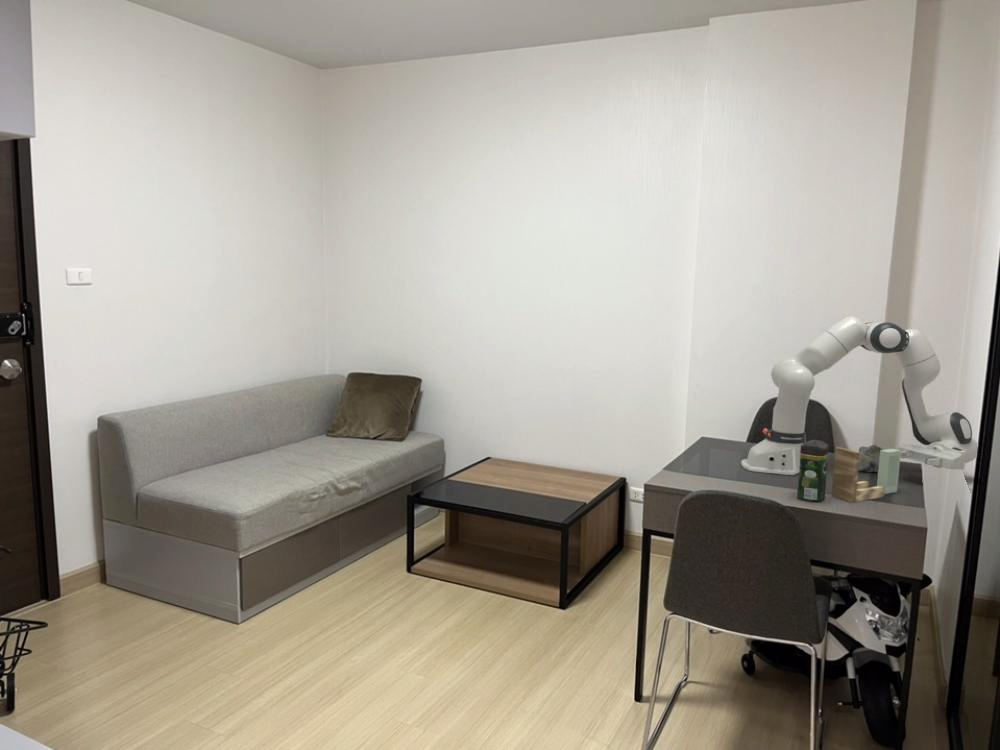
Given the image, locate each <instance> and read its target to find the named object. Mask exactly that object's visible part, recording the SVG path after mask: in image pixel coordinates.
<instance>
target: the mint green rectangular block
mask: <svg viewBox="0 0 1000 750" xmlns="http://www.w3.org/2000/svg"><path fill="white" fill-rule="evenodd" d="M900 455H901V451H900V450H898V449H895V448H888V449H887V448H886V449H883V450H880V458H879V469H878V472H877V480H876V481H877V482H876V486H883V487H885V490H884V495H887V494H891V493H892V494H893V493H897V492H898V483H899V482H898V481H899V476H900V475H899V474H900V465H901V464H900V463H901V458H900Z"/></svg>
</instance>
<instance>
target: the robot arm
mask: <svg viewBox="0 0 1000 750" xmlns="http://www.w3.org/2000/svg"><path fill="white" fill-rule="evenodd" d="M858 347H862V348H863V349H864V350H866V351H869V352H873V353H877V354H892V353H894V354H895V355H896V356H897V357H898V359H899V361H900V364H901V366H902V369H903V371H904V378H903V379H902V381H901V388H902V393H903V397H904V400H905V404H906V407H907V411H908V415H909V418H910V421H911V429H912V434H913V437H914V438H915V439H916V441H917V442H919V443H920V444H921V445H923V446H921V445H917V444H904V445H898V447H897V450H900V451H901V455H900V459H909V460H913V461H916V462H921V463H924V465H926V466H927V465H928V466H932V467H934V468H937V469H941V468H945V469H948V470H959V471H960V470H964V469H965V465H966V464H968V463H970V462H972V461H974V460H975V459H976V458H977V457H976V454H977V444H978V442H977V441H976V440H975V439H974V438H973V431H972V426H971V423H970V421H969V419H968V418H967V417H965V416H964V415H963V414H962V413H960V412H958V411H954V412H948V413H942V414H939V415H933V416H932V415H929V414H928V413H927V410H926V406H925V403H924V400H923V395H922V393H923V389H924V388H925V387H926V386H928V385H929V384H931V383H932V382H933V381H935V379H937V377H938V376H939V374H940V372H941V363H940V360H939V358H938V356H937V354H936V352H935V350H934V348H933V346H932V344H931V343H930V341H929V340H928V339H927V337H926V335H925V334H924V333H923V332H922V331H921V330H919V329H916V328H908V329H903V328H902V327H901V326H899V325H897V324H896V323H894V322H889V321H888V322H887V321H882V320H881V321H879V320H878V321H872V322H871V321H870V322H866V323H864V322H863V321H862V320H861V319H859V317H855V316H851V315H849V316H847V317H844V318H843V319H841V320H838V321H837V322H836V323H834V324H833V325H831V326H829V327H828V328H827V329H826V330H825V331H823V332H822V333H821V334H820V335H818V336H817V337H816V338H814V339H813V340H812V341H811V342H809V343H808V344H807V345H805V346H804V347H802V348H801V349H799V350H798V351H796V352H794V353H792V354H791V355H789V356H788V357H786V358H785V359H783V360H782V361H779V362H777V363H776V364H775V365H774V366H773V367H772V369H771V375H770V376H771V379H772V382H773V384H774V385H775V386H776V387H777V388H778V394H777V398H776V402H775V404H774V406H773V411H772V423H771V424H772V425H771V428H770V429H768V428H767V427H765V428H763V430H762V433H763V434H764V435H765V438H764V439H762V440H761V441H760V442H758V443H756V444H754V445H753V446H752V447H750V449H749V450H748V451H749V452H748V455H747V458H745V459H742V460H741V462H740V466H741V467H742V468H743V469H745V470H747V471H750V472H755V473H767V474H777V475H786V476H795V475H797V474H799V467H800V450H801V445H802V444H803V443H805V442H806V437H807V435H806V432H805V429H806V428H805V427H806V419H807V418H806V417H807V409H808V405H809V401H810V398H811V394H812V391H813V390H814V388H815V385H816V381H815V377H814V376H817V375H819V374H820V373H822V372H824V371H827V370H829V369H830V368H832V367H833V366H834V365H836V364H837V363H838V362H839V361H841V360H842V359H843V358H845V357H846V356H847V355H848V354H849V353H851V352H852V351H853V350H854V349H856V348H858ZM926 446H927V447H926Z"/></svg>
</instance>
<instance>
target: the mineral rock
mask: <svg viewBox="0 0 1000 750" xmlns="http://www.w3.org/2000/svg"><path fill="white" fill-rule="evenodd" d="M880 450H884V449H883V448H882V447H880V446H878V445H877V444H872V445H870V446H860V447H859V449H858V452H860V457H859V468H858V472H861V471H865V473H866V472H867V473H873V472H875V473H878V469H879V458H880Z"/></svg>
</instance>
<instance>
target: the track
mask: <svg viewBox="0 0 1000 750" xmlns="http://www.w3.org/2000/svg"><path fill="white" fill-rule="evenodd" d="M834 452H835V453H834V461H833V463H834V464H833V473H832V488H831V496H832V497H834V498H837V499H840V500H843V501H845V502H849V503H857V502H862V501H868V500H869V501H870V500H874V499H881V498H884V497H885V494H884V490H885V487H883V486H877V485H875V486H870V487H869V483H870V482H869V481H867V480H862V481H858V477H859V471H858V468H859V457H860V452H859V451H856V450H852V449H848V448H845V447H842V446H836V447H835V450H834Z"/></svg>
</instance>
